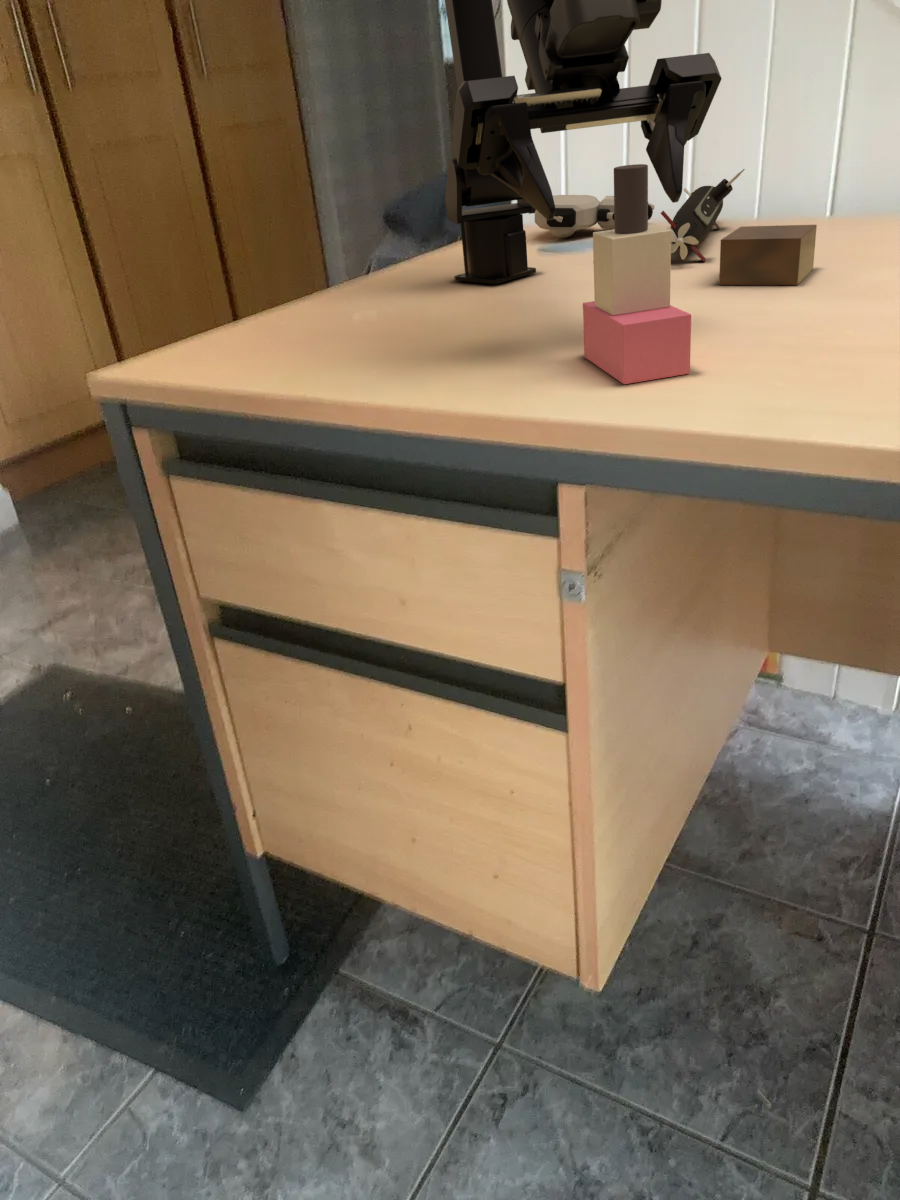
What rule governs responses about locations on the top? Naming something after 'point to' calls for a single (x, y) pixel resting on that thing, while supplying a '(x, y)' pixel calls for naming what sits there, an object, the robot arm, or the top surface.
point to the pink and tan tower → (634, 292)
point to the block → (767, 255)
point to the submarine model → (697, 216)
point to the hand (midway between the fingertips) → (615, 206)
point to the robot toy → (580, 214)
